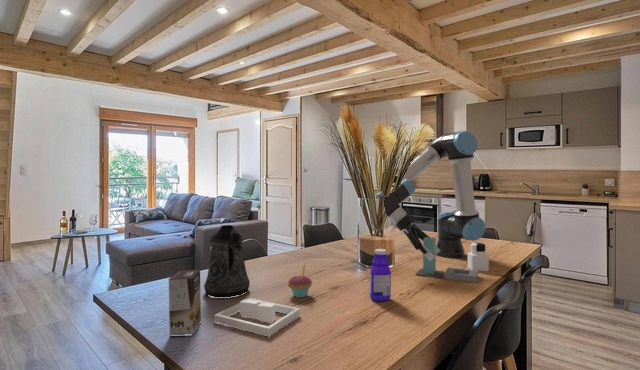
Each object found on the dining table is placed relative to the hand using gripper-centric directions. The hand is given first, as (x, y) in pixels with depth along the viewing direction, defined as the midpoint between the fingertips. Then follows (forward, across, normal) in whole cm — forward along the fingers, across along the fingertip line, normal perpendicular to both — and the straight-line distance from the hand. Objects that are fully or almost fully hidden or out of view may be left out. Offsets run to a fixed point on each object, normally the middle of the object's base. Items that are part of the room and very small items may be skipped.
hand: (435, 255), depth 154 cm
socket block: (+13, 0, +2) cm, 13 cm away
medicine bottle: (+17, -17, +5) cm, 25 cm away
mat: (+4, 0, -7) cm, 8 cm away
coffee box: (-31, +89, -43) cm, 104 cm away
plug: (+4, 0, -7) cm, 8 cm away
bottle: (-2, +40, -14) cm, 42 cm away
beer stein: (-39, +59, -51) cm, 87 cm away
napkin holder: (-21, +74, -33) cm, 84 cm away
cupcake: (-21, +50, -33) cm, 64 cm away
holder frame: (-21, +74, -33) cm, 84 cm away
